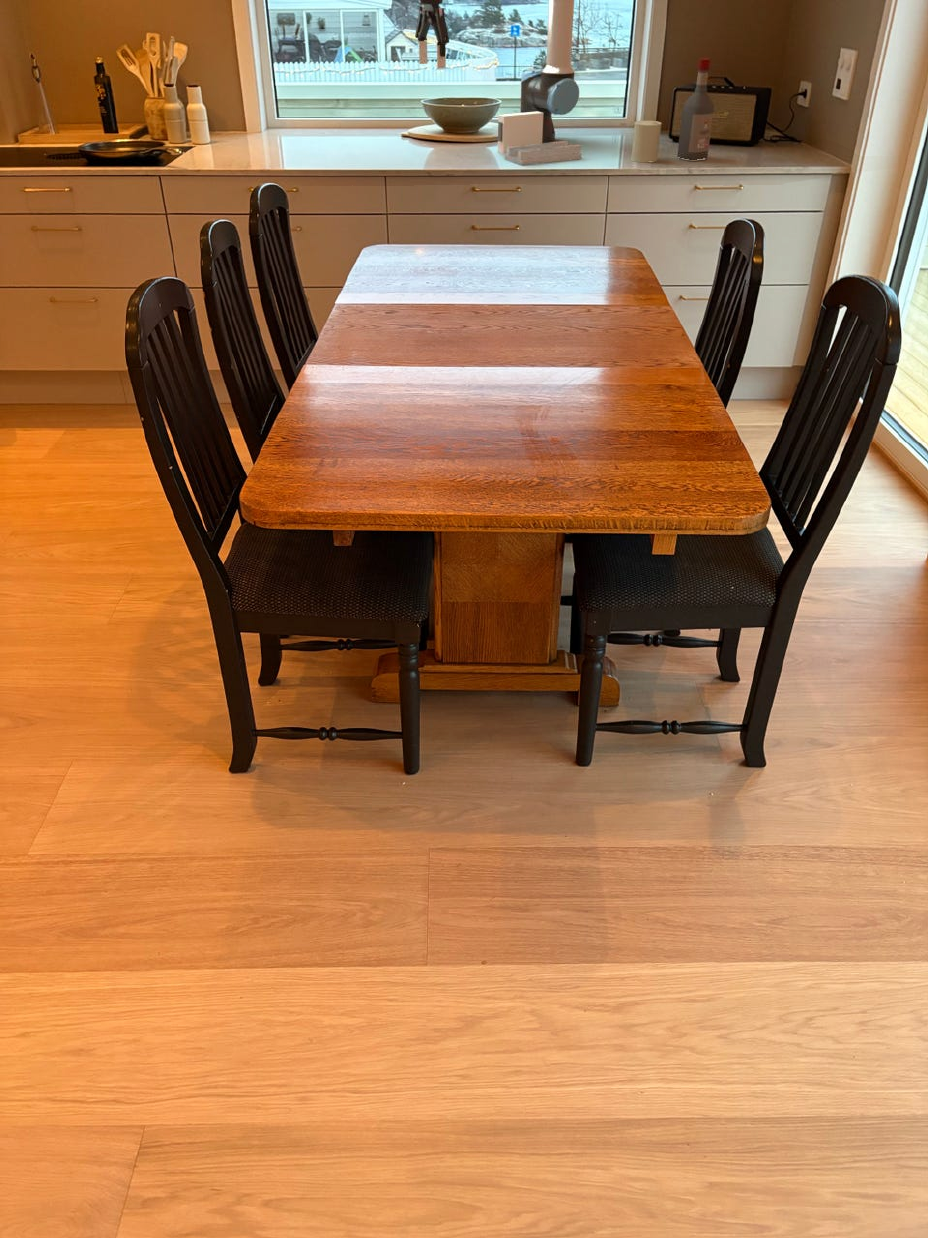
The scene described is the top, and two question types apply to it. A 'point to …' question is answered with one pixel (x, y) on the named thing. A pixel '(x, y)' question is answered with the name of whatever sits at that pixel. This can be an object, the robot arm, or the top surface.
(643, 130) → the can
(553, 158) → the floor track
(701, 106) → the liquor
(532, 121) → the door panel
